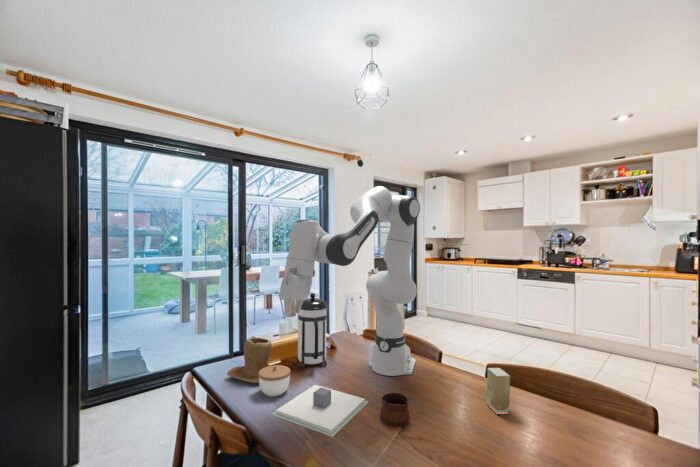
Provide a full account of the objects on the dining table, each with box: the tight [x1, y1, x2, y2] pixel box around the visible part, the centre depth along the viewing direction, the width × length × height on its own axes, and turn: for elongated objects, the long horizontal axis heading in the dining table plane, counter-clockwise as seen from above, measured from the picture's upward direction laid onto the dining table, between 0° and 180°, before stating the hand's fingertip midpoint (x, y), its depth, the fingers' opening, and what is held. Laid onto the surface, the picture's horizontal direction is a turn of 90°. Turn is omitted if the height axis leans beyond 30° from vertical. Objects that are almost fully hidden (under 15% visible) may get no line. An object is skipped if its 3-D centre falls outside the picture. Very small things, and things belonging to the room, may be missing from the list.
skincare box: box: [486, 367, 511, 412], centre depth 102 cm, size 6×4×12 cm
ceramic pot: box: [379, 391, 411, 440], centre depth 96 cm, size 18×18×7 cm
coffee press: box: [297, 293, 328, 369], centre depth 138 cm, size 17×16×30 cm
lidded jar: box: [258, 364, 291, 397], centre depth 112 cm, size 11×11×9 cm
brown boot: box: [226, 336, 272, 384], centre depth 124 cm, size 15×12×15 cm
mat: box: [271, 399, 370, 438], centre depth 102 cm, size 22×22×1 cm
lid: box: [275, 384, 366, 434], centre depth 102 cm, size 20×20×5 cm
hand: (292, 314), depth 99 cm, fingers open, 8 cm apart
